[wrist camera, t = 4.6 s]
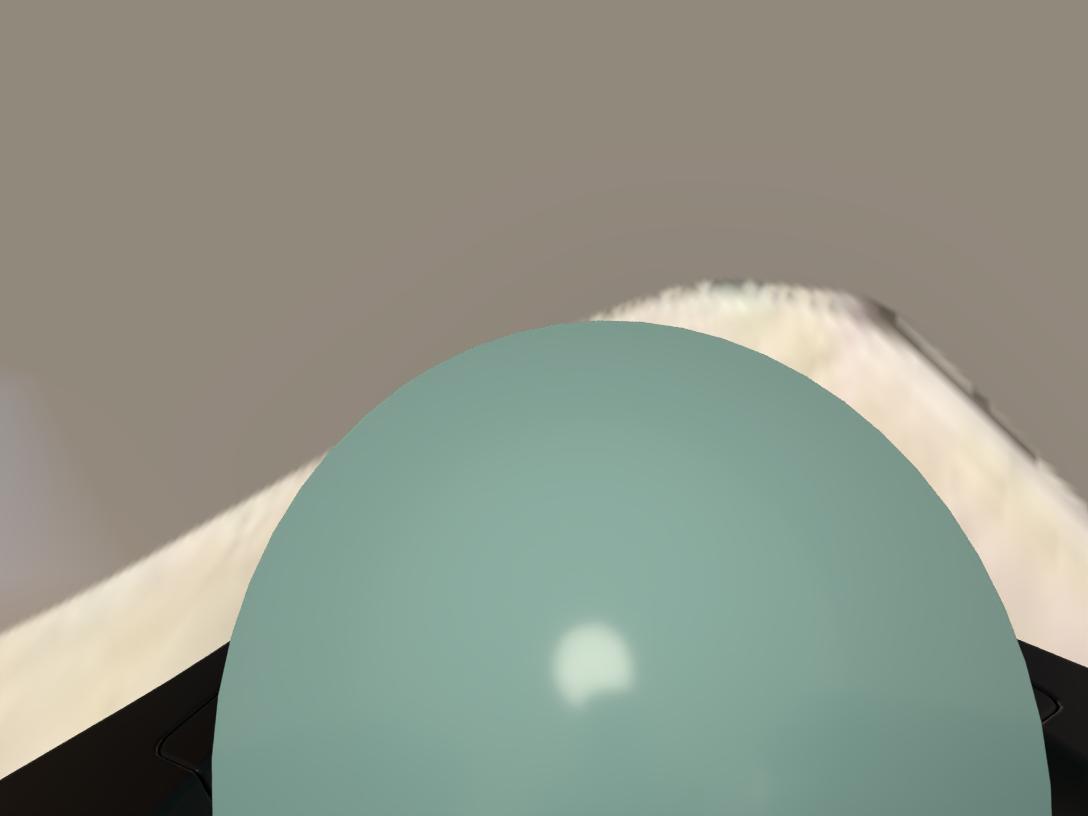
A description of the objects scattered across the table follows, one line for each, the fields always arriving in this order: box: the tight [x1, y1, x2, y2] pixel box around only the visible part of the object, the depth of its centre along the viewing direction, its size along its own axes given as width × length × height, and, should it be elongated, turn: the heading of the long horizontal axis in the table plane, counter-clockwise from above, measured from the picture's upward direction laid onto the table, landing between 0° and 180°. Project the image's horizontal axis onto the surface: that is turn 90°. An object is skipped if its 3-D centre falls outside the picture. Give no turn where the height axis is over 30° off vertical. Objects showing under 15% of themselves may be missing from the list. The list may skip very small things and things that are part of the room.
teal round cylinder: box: [212, 321, 1052, 816], centre depth 9 cm, size 6×6×12 cm
